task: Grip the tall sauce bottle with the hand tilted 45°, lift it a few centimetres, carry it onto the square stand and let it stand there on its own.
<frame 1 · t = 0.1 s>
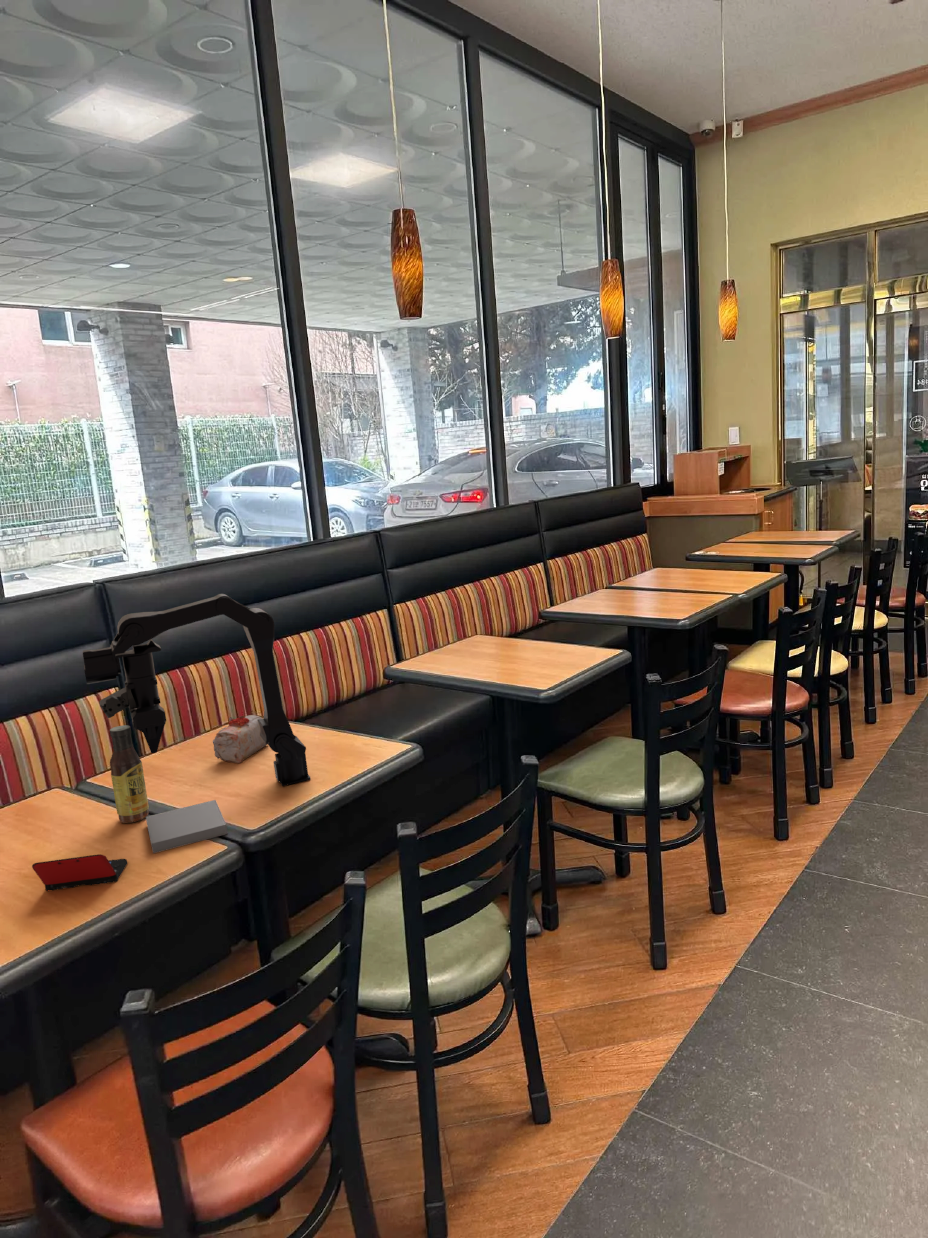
hand: (152, 746, 175), 15 cm above the table, tool pointing down, fingers open, 9 cm apart
stand: (186, 829, 167), on the table
food item: (243, 755, 208), on the table
handheld game console: (85, 883, 150), on the table
sauce bottle: (135, 818, 175), on the table
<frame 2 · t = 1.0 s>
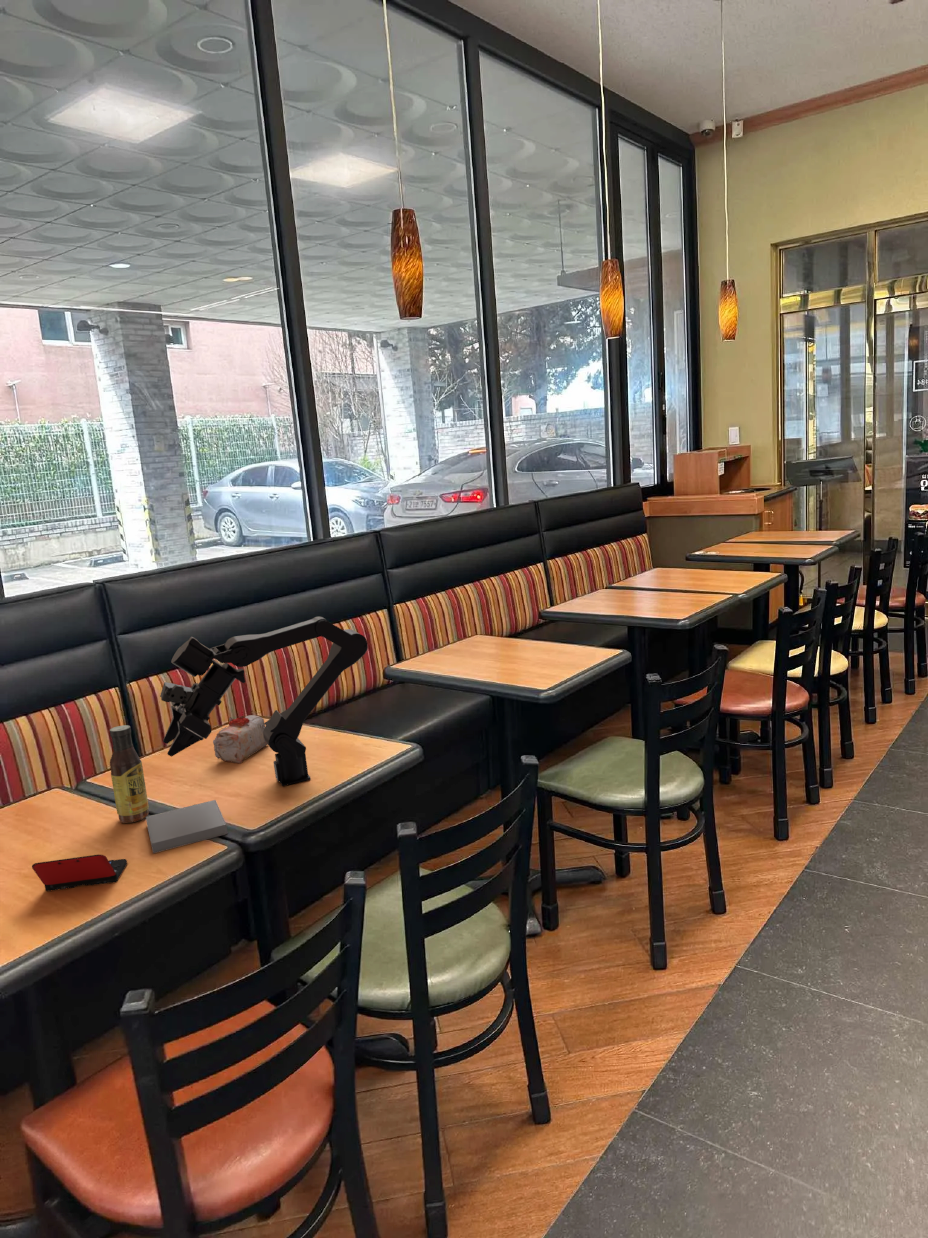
hand: (166, 748, 176), 13 cm above the table, tool tilted 45°, fingers open, 9 cm apart
nothing on the table moved.
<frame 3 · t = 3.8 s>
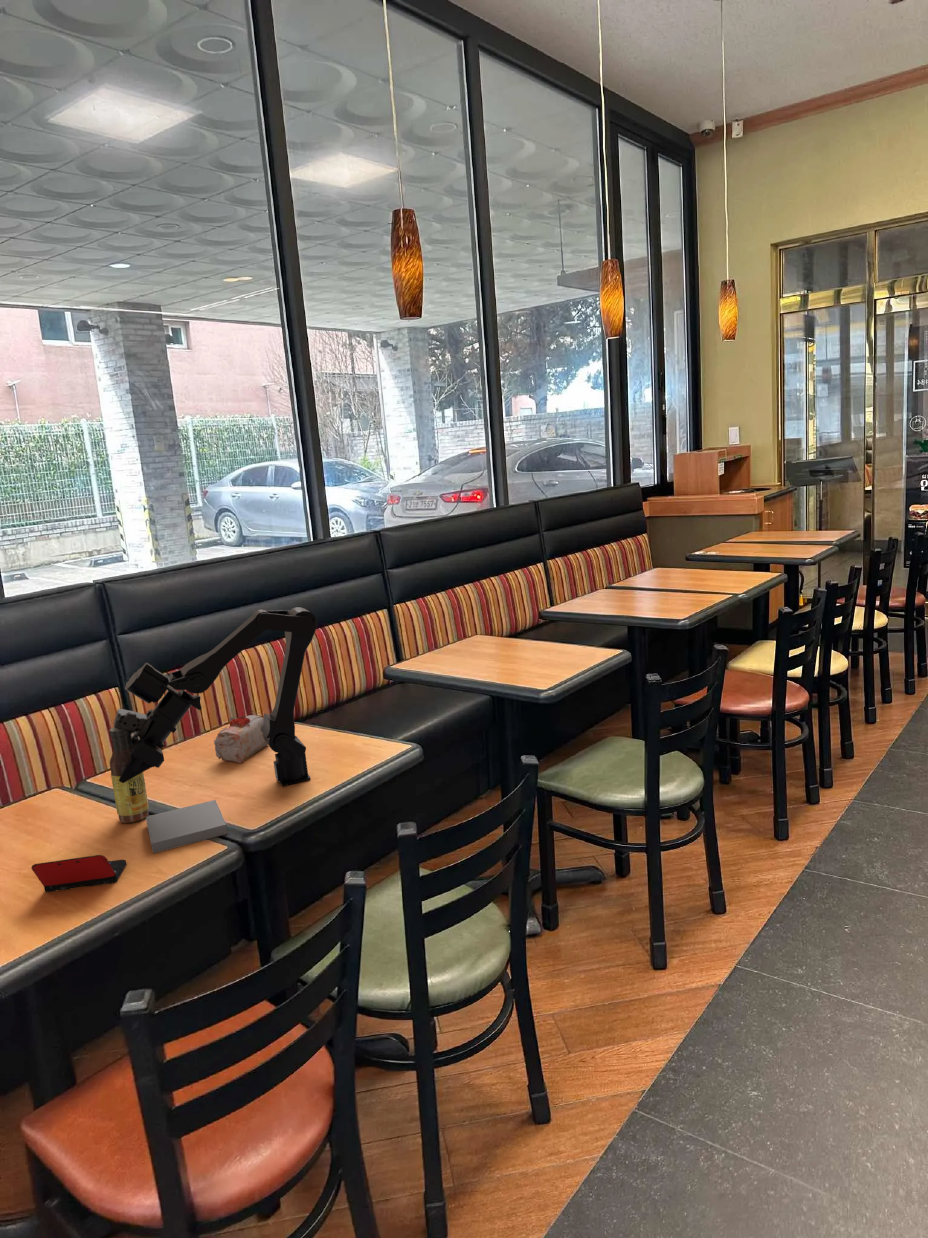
hand: (120, 776, 173), 10 cm above the table, tool tilted 45°, fingers closed on sauce bottle, 6 cm apart
sauce bottle: (135, 818, 175), on the table, touching gripper
everything else where it was.
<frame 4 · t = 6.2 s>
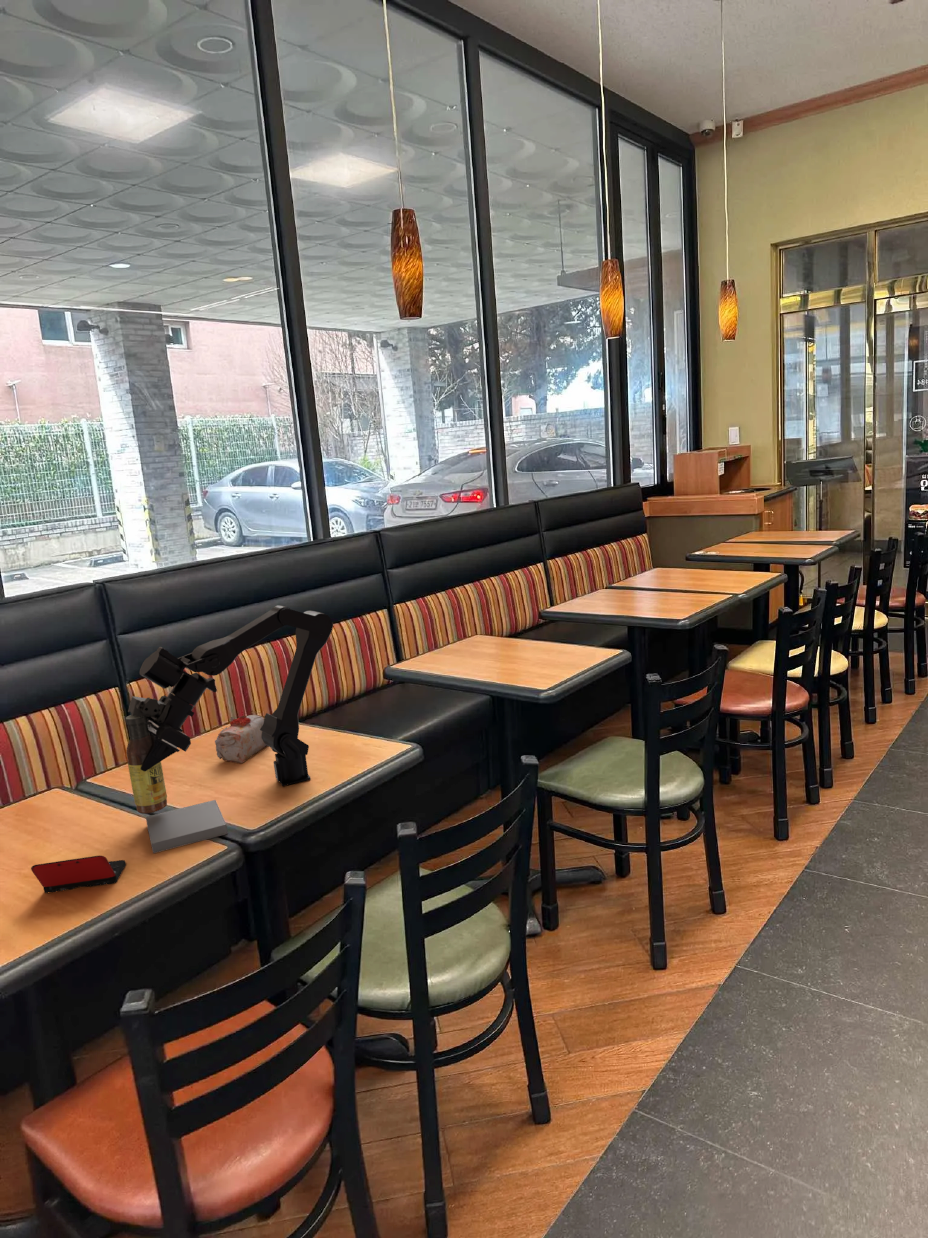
hand: (137, 766, 167), 13 cm above the table, tool tilted 45°, fingers closed on sauce bottle, 6 cm apart
sauce bottle: (153, 809, 170), point 3 cm above the table, touching gripper
everything else where it was.
when the fingers open (12 cm above the table, at t = 8.4 s): sauce bottle stays where it is, resting on stand.
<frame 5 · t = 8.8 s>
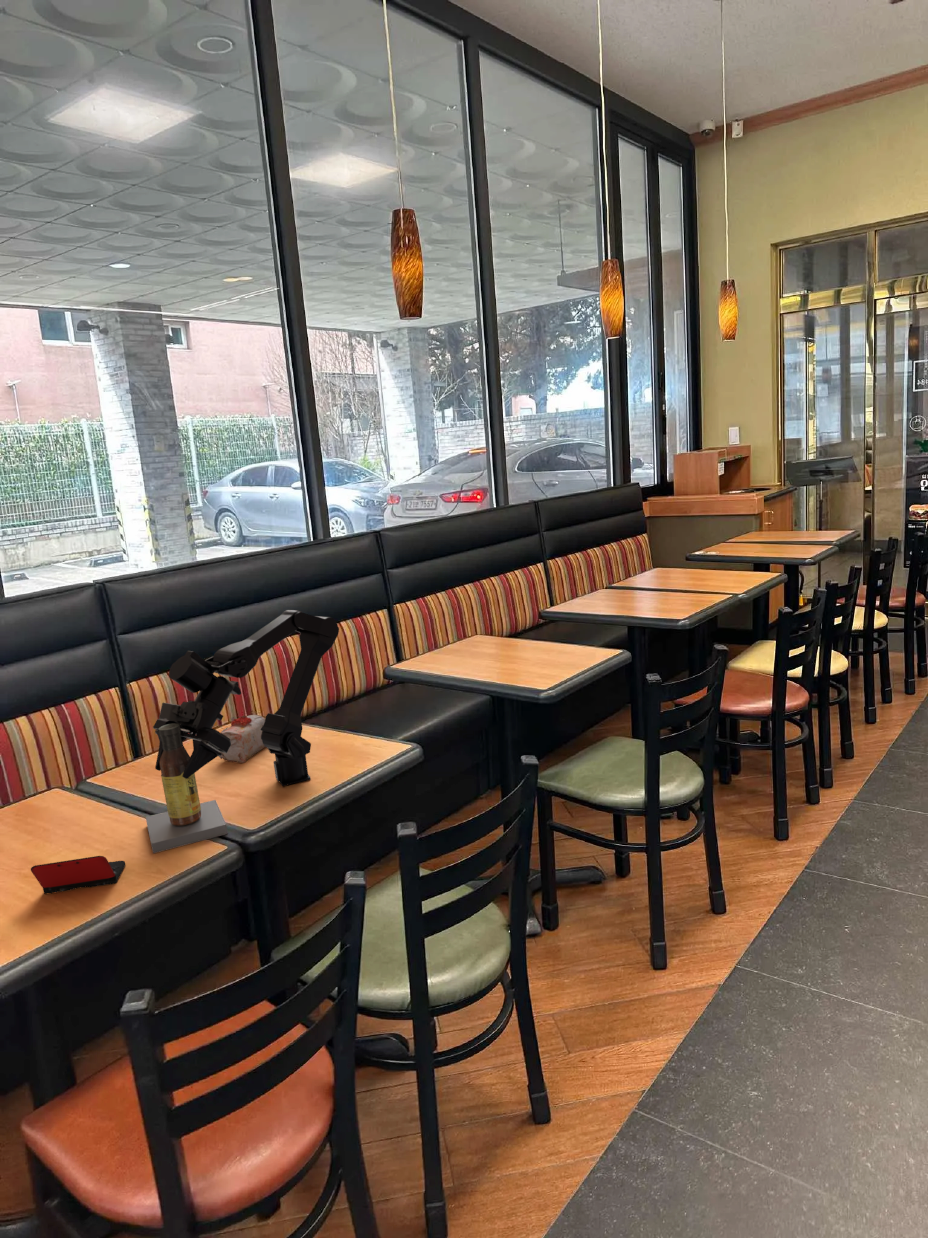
hand: (170, 773, 164), 13 cm above the table, tool tilted 45°, fingers open, 9 cm apart
sauce bottle: (186, 821, 167), point 2 cm above the table, touching stand
everything else where it was.
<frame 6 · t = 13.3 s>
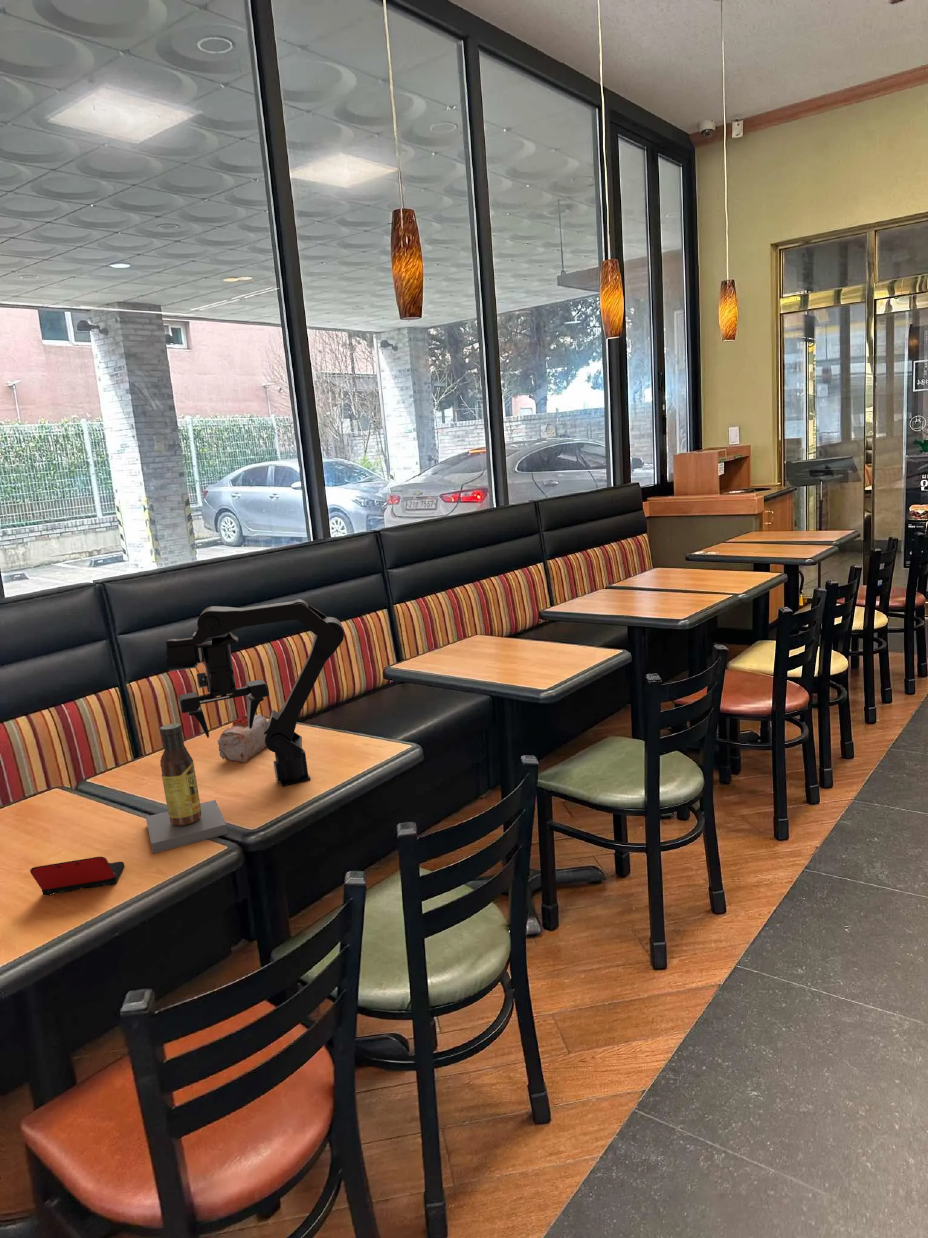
hand: (229, 732, 184), 13 cm above the table, tool pointing down, fingers open, 9 cm apart
at the end: sauce bottle inside the target area on the stand (0.2 cm from its centre), point 1.8 cm above the stand's base; sauce bottle tilted 0°; the gripper is holding nothing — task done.
